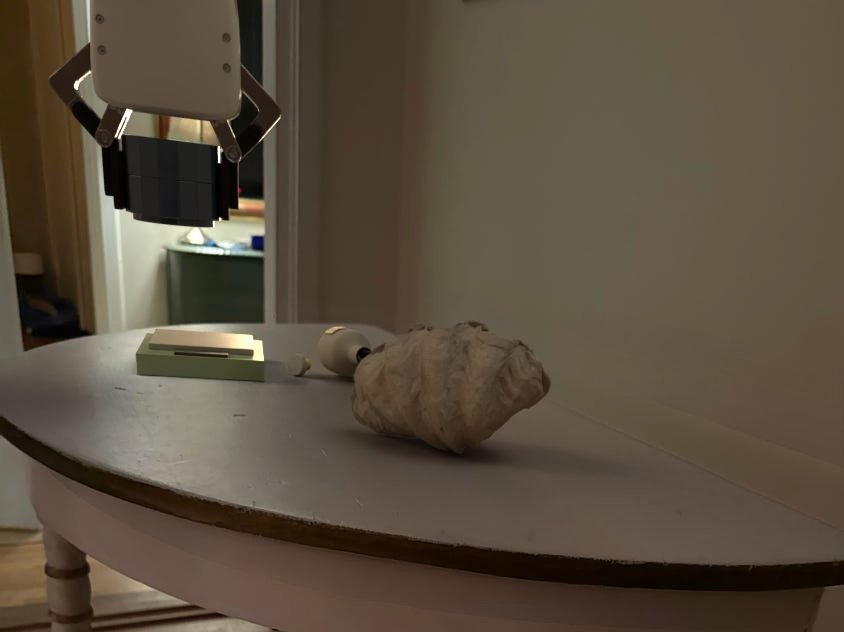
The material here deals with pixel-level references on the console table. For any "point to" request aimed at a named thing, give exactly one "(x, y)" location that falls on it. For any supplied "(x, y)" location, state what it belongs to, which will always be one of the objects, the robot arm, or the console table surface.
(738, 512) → the console table surface
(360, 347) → the jar with stopper
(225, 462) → the console table surface
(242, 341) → the scale
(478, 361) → the seashell
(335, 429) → the console table surface
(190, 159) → the cup
